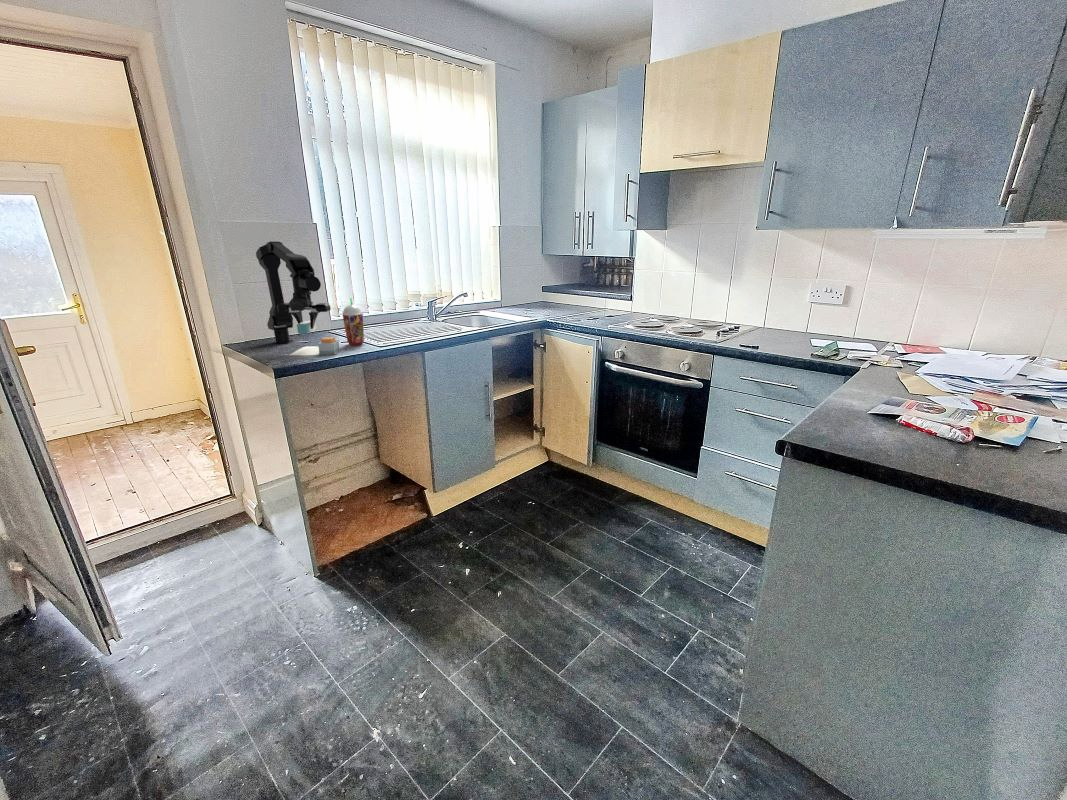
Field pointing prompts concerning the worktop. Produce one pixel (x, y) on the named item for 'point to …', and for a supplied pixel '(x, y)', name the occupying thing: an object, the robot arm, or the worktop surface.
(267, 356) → the worktop surface
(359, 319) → the smoothie
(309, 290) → the robot arm
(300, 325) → the milk carton
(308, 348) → the paper sheet
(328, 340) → the button
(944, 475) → the worktop surface
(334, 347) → the button housing
